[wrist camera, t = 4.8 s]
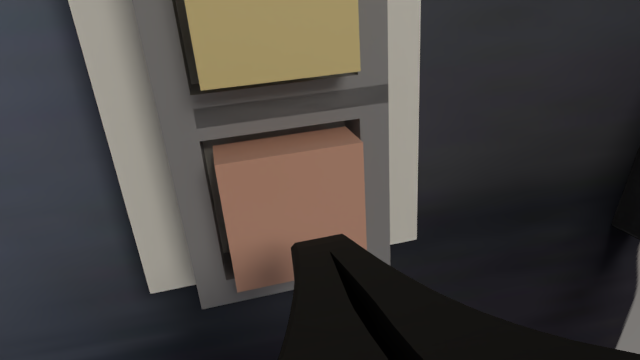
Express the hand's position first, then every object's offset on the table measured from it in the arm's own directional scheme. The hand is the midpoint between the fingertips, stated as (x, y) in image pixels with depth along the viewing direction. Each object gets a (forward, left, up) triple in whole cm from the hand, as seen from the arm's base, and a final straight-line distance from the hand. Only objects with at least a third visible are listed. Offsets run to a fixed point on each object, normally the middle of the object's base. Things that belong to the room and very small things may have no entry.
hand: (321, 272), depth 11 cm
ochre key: (+4, +5, -5) cm, 8 cm away
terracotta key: (0, 0, -5) cm, 5 cm away
